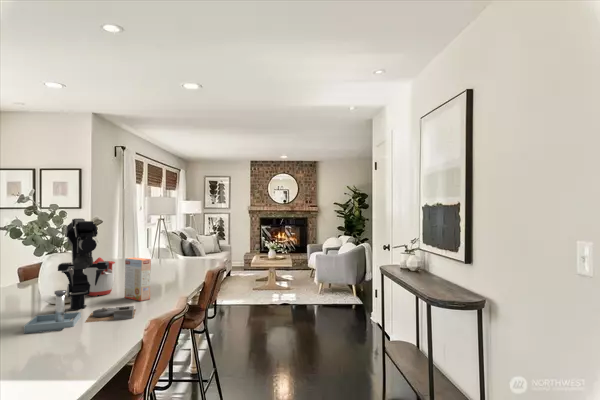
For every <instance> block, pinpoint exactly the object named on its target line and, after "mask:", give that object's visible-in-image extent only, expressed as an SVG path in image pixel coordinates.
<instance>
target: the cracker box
mask: <svg viewBox="0 0 600 400" xmlns="http://www.w3.org/2000/svg"><path fill="white" fill-rule="evenodd" d="M151 264H152V259H151V258H146V257H145V258H143V257H127V258H125V260H124V299H129V300H133V301H138V302H143V301H148V300H150V299H151V270H152V269H151V268H152V265H151Z"/></svg>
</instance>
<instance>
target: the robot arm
mask: <svg viewBox="0 0 600 400" xmlns="http://www.w3.org/2000/svg"><path fill="white" fill-rule="evenodd" d="M98 234H99V233H98V229H97V225H96V223H95V222H94V221H93V220H85V218H72V220H71V222H70V223H69V224H68V225H66V228H65V238H66V239H67V243H68V244H69V245H70V247H71V262H62V263H60V264H58V266H57V271H58V272H61V274H64V275H66V278H67V280H68V284H67V289H66V297H67V298H70V303H69V304H70V305H69V306H70V307H69V308H67V311H78V310H85V309H86V307H87V304H85V303H86V302H85V301H86V299H85V298H86V296H90V295H89V294H90V286H91V285H90V284H89V282H88V278H87V275H85V274H84V273H83V271H84V269H86V268H98V269H97V270H96V278H95V285H97V282H98V280H99V277H100V275H101V273H102V271H104V270H105V269H107V268H109V262H108V261H109V260H104V261H100V262H98V263H94V264H93V262H94V258H93V252H94V251H95V249H96V247H97V246H98V245H97V241H96V240H95V239H94V238H95V237H96V238H97V236H98Z"/></svg>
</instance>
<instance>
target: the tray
mask: <svg viewBox="0 0 600 400" xmlns="http://www.w3.org/2000/svg"><path fill="white" fill-rule="evenodd" d="M81 318H82V312H81V311H79V312H77V311H75V312H68V313H67V312H66V313H65V312H64V322H55V313H52V314H51V313H50V314H40V315H38V314H37V315H35V316H33V318H32V319H30V320H29V321H28V322H27V323H26V324H24V325H23V327H24V328H23V329H24V330H23V334H24V335H25V334H35V333H36V334H37V333H47V332H56V331H57V332H58V331H63V330H64V329H65V328H74V326H75V325H76V324H77V323H78V322H79V320H80V319H81Z"/></svg>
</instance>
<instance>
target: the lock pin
mask: <svg viewBox="0 0 600 400" xmlns="http://www.w3.org/2000/svg"><path fill="white" fill-rule="evenodd" d="M54 295H55V309H54V310H55V311H54V314H55V322H64V313H65V307H66V306H65V300H66V299H65V297H66V295H67V289H59V290H54Z"/></svg>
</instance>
